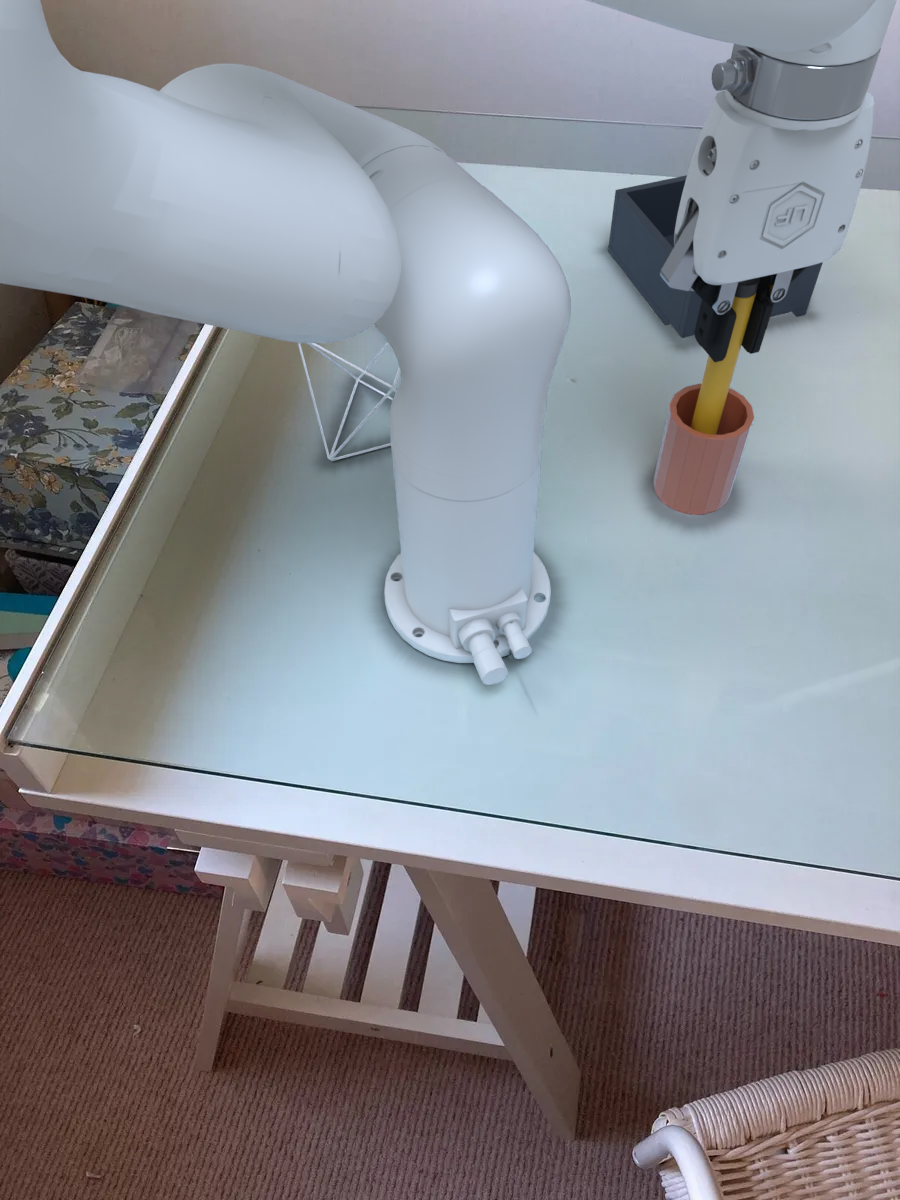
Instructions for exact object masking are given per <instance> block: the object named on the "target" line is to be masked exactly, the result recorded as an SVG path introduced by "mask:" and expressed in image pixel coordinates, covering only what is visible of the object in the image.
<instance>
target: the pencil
mask: <svg viewBox="0 0 900 1200" xmlns="http://www.w3.org/2000/svg"><path fill="white" fill-rule="evenodd" d="M759 281H760V277H759V278H754V279H750V280H745V281H740V282H738V286H737V289H736V293H735V297H734V300H733V304H732V309H733V310H734V311H735V312H736V321H735V325H734V328H733V332H732V336H731V339H730V343H729V347H728V350H727V354H726V357H725V358H724V360H723V361H719V362H714V361H713V360H712V359H711V357H710V356H709V355H708V356H707V360H706V364H705V369H704V372H703V376H702V380H701V383H700V384H701V388H700V392H699V396H698V400H697V404H696V408H695V412H694V416H693V420H692V424H691V428H692V429H693V430H695V431H699V432H702V433H705V434H712V435H716V433H717V430H718V426H719V423H720V419H721V415H722V412H723V408H724V405H725V401H726V398H727V394H728V391H729V388H731V387H730V386H731V384H732V380H733V376H734V373H735V369H736V366H737V363H738V358H739V355H740V352H741V348H742V341H743V338H744V334H745V331H746V327H747V324H748V320H749V316H750V313H751V309H752V306H753V302H754V299H755V295H756V292H757V288H758V285H759Z"/></svg>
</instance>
